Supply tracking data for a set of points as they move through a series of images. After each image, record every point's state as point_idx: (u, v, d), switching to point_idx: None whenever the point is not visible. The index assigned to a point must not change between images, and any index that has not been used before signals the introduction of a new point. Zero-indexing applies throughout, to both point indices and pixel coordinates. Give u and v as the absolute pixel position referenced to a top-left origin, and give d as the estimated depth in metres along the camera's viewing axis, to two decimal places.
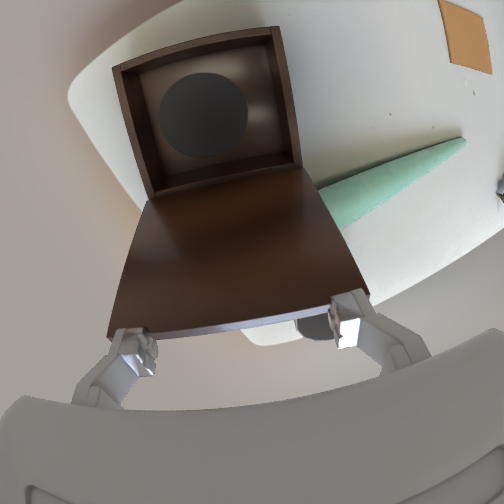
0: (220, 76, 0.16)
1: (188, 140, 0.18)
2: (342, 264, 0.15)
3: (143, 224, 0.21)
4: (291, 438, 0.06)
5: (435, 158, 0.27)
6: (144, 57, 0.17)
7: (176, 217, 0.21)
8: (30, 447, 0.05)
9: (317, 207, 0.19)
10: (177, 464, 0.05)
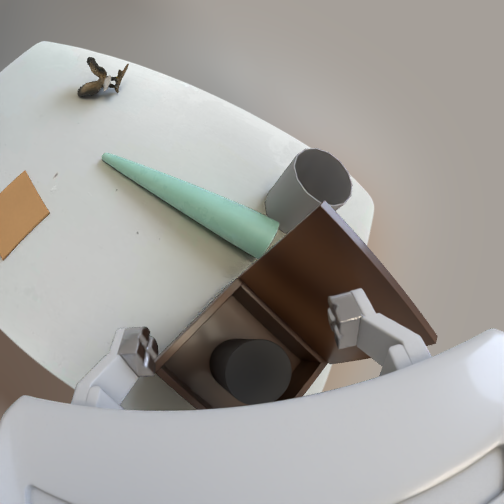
0: (227, 381, 0.22)
1: (281, 369, 0.24)
2: (308, 230, 0.19)
3: (349, 357, 0.26)
4: (291, 438, 0.06)
5: (142, 173, 0.33)
6: None
7: (332, 340, 0.26)
8: (30, 447, 0.05)
9: (271, 259, 0.24)
10: (177, 464, 0.05)
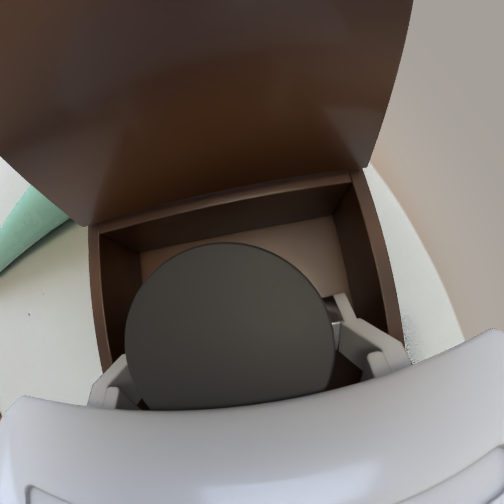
0: None
1: (260, 289, 0.08)
2: None
3: (374, 106, 0.08)
4: (291, 438, 0.06)
5: None
6: None
7: (297, 108, 0.08)
8: (30, 447, 0.05)
9: (12, 152, 0.07)
10: (177, 464, 0.05)
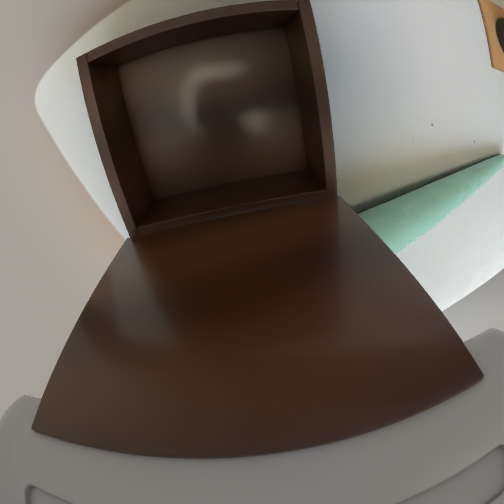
0: None
1: None
2: (433, 329, 0.07)
3: (114, 267, 0.14)
4: None
5: (478, 180, 0.21)
6: (119, 41, 0.11)
7: (159, 259, 0.14)
8: (30, 447, 0.05)
9: (371, 243, 0.12)
10: (178, 465, 0.05)
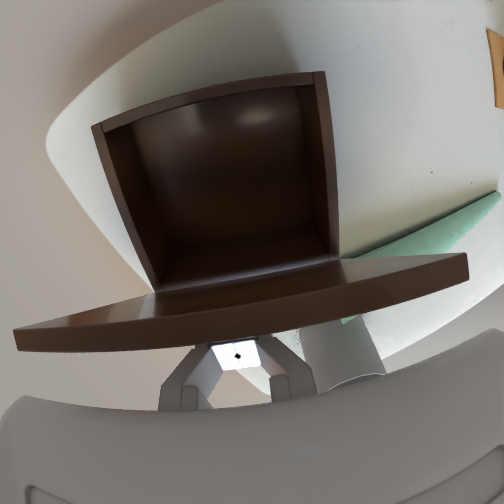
0: None
1: None
2: (408, 258, 0.08)
3: (138, 297, 0.17)
4: (291, 438, 0.06)
5: (472, 222, 0.23)
6: (134, 113, 0.14)
7: (180, 291, 0.16)
8: (30, 447, 0.05)
9: (359, 259, 0.14)
10: (178, 465, 0.05)
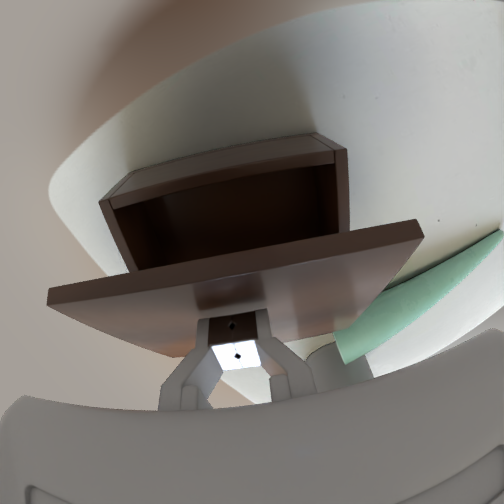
0: None
1: None
2: None
3: None
4: (291, 438, 0.06)
5: (473, 265, 0.24)
6: (144, 192, 0.14)
7: None
8: (30, 447, 0.05)
9: None
10: (178, 464, 0.05)
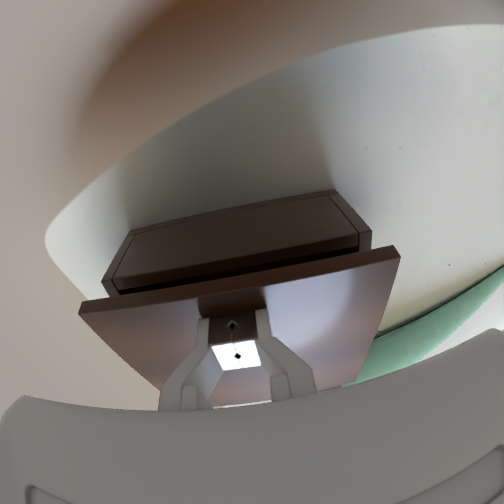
0: None
1: None
2: None
3: None
4: (291, 438, 0.06)
5: (479, 304, 0.23)
6: (150, 277, 0.13)
7: None
8: (30, 447, 0.05)
9: None
10: (177, 464, 0.05)
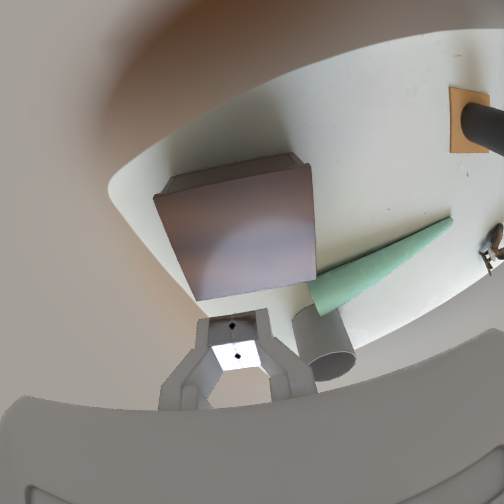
0: None
1: None
2: None
3: None
4: (291, 438, 0.06)
5: (422, 244, 0.36)
6: None
7: None
8: (30, 447, 0.05)
9: None
10: (178, 464, 0.05)
